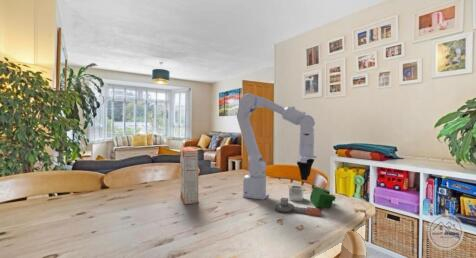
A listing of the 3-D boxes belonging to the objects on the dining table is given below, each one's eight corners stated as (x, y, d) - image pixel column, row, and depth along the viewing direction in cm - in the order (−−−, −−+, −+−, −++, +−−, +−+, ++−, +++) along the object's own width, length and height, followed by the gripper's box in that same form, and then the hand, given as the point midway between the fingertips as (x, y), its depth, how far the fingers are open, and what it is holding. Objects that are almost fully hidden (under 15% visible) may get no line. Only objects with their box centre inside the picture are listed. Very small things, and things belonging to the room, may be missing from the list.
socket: (289, 199, 105) (289, 187, 105) (291, 196, 110) (291, 185, 109) (301, 201, 103) (301, 189, 103) (303, 198, 108) (303, 186, 108)
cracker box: (179, 195, 110) (179, 147, 110) (193, 193, 112) (193, 146, 112) (182, 205, 97) (183, 150, 96) (198, 203, 99) (198, 150, 98)
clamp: (328, 219, 96) (337, 201, 92) (313, 215, 96) (321, 196, 92) (323, 198, 107) (331, 181, 103) (309, 194, 107) (316, 177, 103)
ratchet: (272, 211, 91) (272, 200, 91) (277, 205, 98) (277, 195, 97) (320, 218, 85) (321, 206, 85) (322, 211, 92) (322, 200, 91)
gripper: (315, 146, 95) (313, 182, 95) (318, 143, 108) (317, 175, 109) (295, 145, 98) (294, 180, 98) (301, 143, 111) (300, 173, 111)
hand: (305, 177), depth 104 cm, fingers open, 7 cm apart
